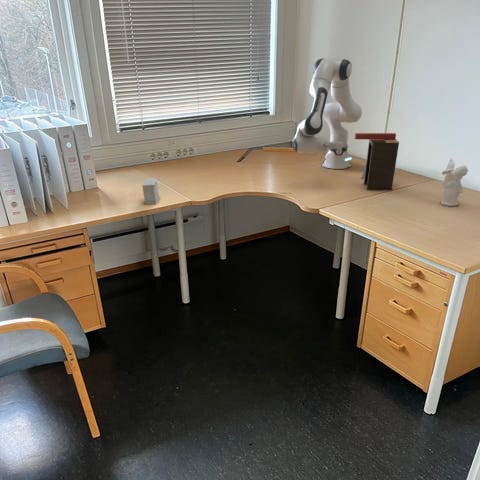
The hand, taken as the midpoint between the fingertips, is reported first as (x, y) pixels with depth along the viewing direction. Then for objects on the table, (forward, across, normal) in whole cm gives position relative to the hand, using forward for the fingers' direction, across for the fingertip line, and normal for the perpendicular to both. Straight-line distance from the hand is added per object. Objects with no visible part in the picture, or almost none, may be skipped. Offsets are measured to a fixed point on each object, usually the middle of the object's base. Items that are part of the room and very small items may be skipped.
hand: (342, 145), depth 275 cm
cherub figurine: (+39, -46, +28) cm, 67 cm away
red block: (+14, -10, -4) cm, 18 cm away
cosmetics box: (-110, +3, +30) cm, 114 cm away
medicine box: (+23, +7, +19) cm, 31 cm away
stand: (+20, -9, +22) cm, 31 cm away
